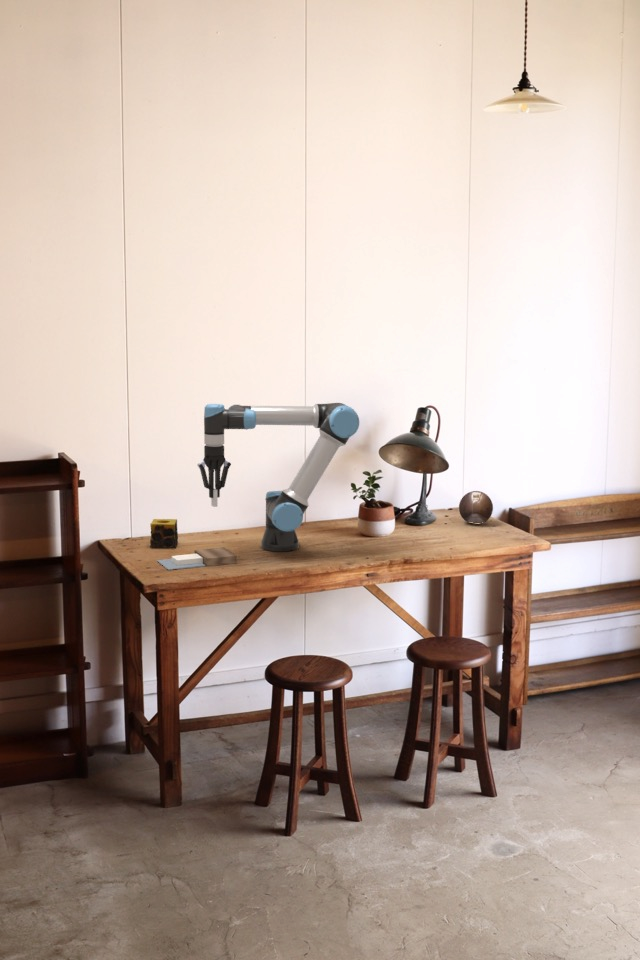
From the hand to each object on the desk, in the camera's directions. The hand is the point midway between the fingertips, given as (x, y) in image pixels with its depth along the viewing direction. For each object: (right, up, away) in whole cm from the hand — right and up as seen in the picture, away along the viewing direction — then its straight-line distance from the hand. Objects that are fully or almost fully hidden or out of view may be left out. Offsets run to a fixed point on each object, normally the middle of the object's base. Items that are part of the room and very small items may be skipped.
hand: (214, 505), depth 405 cm
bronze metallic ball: (+110, -10, +69) cm, 130 cm away
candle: (-22, -17, +22) cm, 35 cm away
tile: (-10, -21, -5) cm, 24 cm away
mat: (-12, -22, -6) cm, 26 cm away
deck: (0, -21, 0) cm, 21 cm away
